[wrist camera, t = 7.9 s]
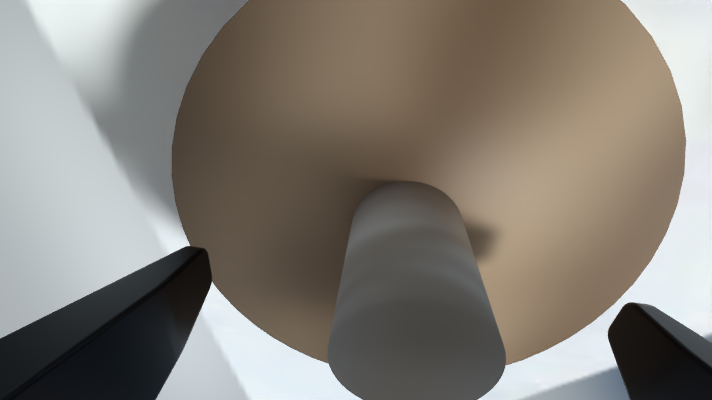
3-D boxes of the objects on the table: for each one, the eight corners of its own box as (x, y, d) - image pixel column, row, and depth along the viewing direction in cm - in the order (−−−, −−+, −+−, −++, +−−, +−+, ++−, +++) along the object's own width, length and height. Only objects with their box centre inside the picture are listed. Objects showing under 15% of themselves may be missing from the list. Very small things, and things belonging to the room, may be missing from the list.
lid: (796, -32, 6) (1514, -102, 2) (549, 379, 13) (624, 555, 9) (140, -88, 7) (-223, -224, 3) (216, 333, 13) (137, 478, 9)
